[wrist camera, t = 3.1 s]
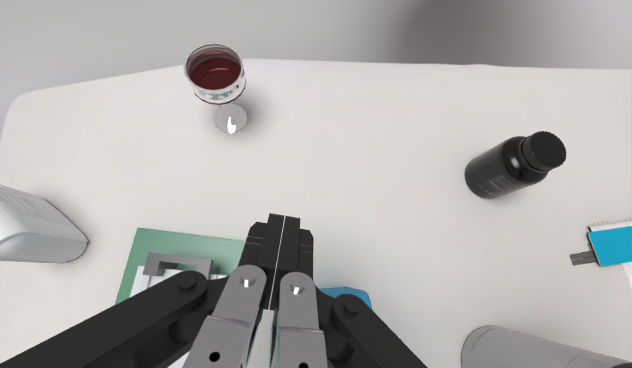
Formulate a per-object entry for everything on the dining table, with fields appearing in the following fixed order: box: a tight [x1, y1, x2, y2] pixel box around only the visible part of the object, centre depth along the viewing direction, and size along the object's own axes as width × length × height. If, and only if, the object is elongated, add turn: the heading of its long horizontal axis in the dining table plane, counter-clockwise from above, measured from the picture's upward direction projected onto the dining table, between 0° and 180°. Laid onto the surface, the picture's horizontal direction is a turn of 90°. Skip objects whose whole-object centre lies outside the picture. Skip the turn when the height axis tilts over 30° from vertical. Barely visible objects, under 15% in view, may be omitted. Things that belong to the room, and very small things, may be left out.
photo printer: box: [0, 185, 88, 263], centre depth 32 cm, size 10×4×12 cm, turn 52°
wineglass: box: [184, 43, 248, 133], centre depth 40 cm, size 7×7×12 cm
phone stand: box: [570, 218, 632, 291], centre depth 46 cm, size 20×12×2 cm, turn 98°
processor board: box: [115, 228, 246, 368], centre depth 34 cm, size 19×16×7 cm
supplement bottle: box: [465, 131, 566, 198], centre depth 42 cm, size 7×7×12 cm
